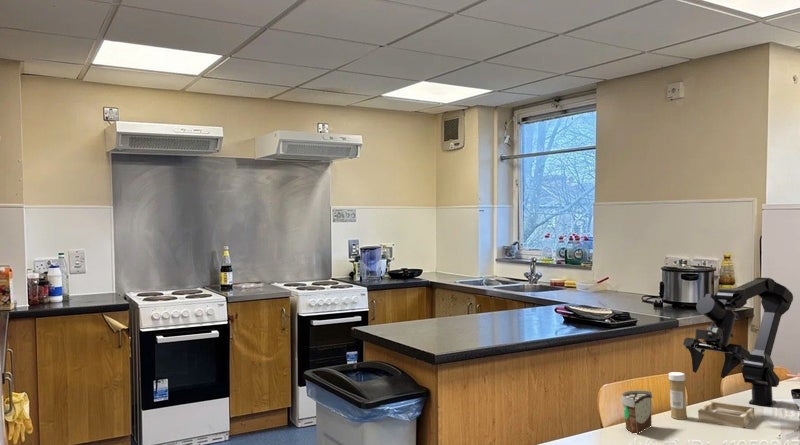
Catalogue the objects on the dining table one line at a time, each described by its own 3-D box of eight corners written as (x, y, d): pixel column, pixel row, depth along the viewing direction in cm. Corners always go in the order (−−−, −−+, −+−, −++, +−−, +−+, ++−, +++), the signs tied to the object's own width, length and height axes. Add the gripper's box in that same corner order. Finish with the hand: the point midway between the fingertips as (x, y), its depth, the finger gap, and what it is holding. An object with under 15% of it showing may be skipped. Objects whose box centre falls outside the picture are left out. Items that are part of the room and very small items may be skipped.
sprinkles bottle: (690, 417, 184) (688, 373, 184) (681, 420, 181) (679, 375, 182) (676, 414, 188) (674, 370, 188) (667, 417, 185) (665, 373, 185)
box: (711, 411, 190) (710, 401, 190) (754, 417, 182) (754, 407, 182) (698, 420, 181) (698, 410, 181) (743, 428, 173) (742, 417, 173)
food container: (633, 421, 183) (631, 387, 183) (653, 425, 178) (652, 391, 179) (614, 431, 174) (612, 396, 174) (635, 436, 170) (633, 400, 170)
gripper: (679, 313, 193) (665, 359, 189) (735, 319, 176) (721, 370, 172) (700, 327, 197) (686, 373, 193) (757, 335, 181) (743, 384, 177)
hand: (707, 374), depth 184 cm, fingers open, 9 cm apart
